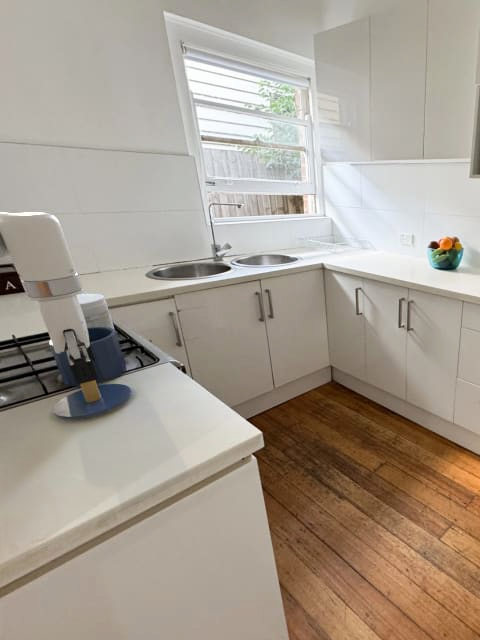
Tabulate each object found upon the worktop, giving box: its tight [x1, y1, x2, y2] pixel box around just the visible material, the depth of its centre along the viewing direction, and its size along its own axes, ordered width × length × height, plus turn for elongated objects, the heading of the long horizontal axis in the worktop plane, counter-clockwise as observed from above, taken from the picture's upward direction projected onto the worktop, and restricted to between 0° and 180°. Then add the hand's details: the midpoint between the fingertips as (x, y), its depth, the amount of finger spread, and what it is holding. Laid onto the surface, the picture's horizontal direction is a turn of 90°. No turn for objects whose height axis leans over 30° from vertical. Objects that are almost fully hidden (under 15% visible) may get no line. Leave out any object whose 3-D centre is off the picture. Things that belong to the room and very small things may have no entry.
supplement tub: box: [77, 293, 115, 329], centre depth 95 cm, size 10×10×15 cm
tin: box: [48, 327, 127, 387], centre depth 86 cm, size 11×11×10 cm
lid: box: [52, 380, 132, 420], centre depth 76 cm, size 12×12×7 cm
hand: (86, 371), depth 74 cm, fingers open, 9 cm apart
